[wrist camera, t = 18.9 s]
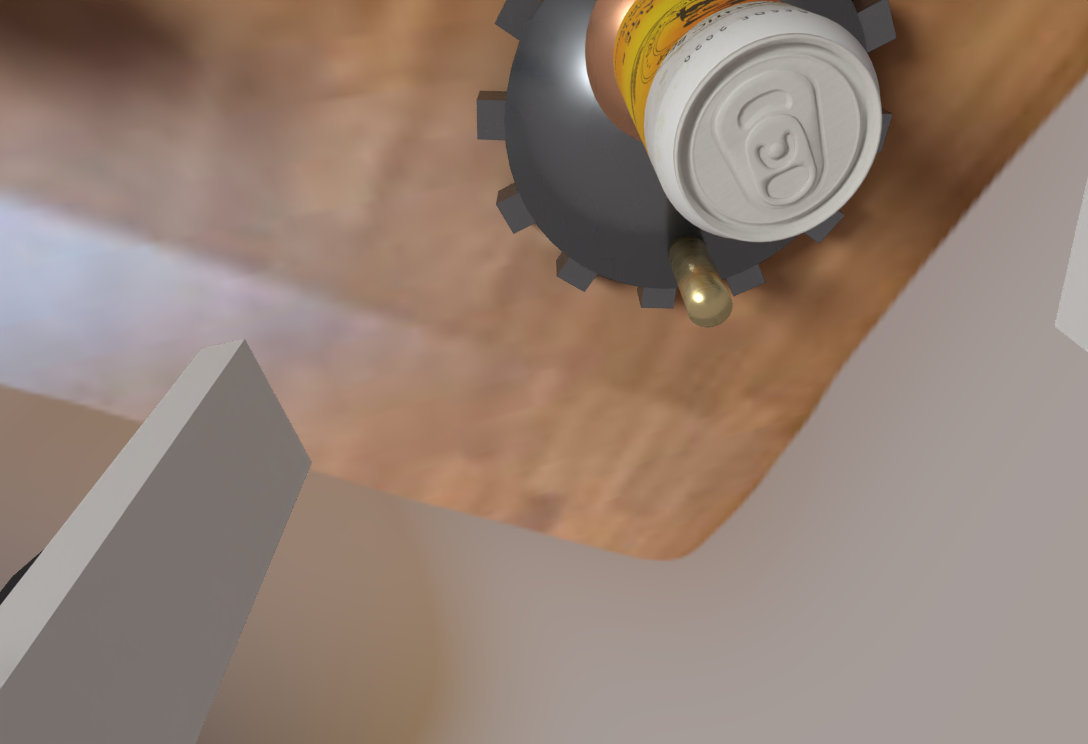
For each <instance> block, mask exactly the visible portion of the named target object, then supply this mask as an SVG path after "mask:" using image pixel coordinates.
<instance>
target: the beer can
mask: <svg viewBox="0 0 1088 744" xmlns="http://www.w3.org/2000/svg"><path fill="white" fill-rule="evenodd" d="M613 65H614V73H615V78H616V82H617V85H618V87H619V90H620V92H621V94H622V97H623V99H624V101H625V103H626V106H627V108H628V110H629V113H630V115H631V117H632V119H633V122H634V124H635V126H636V129H637V131H638V133H639V135H640V138H641V140H642V142H643V144H644V147H645V149H646V151H647V154H648V156H649V158H650V160H651V163H652V165H653V167H654V170H655V172H656V174H657V176H658V179H659V181H660V183H661V186H662V188H663V190H664V192H665V194H666V195H667V197H668V199H669V201H670V202H671V203H672V205H673V206H674V207H675V208H676V210H677V211H678V212H679V213H680V214H681V215H682V216H683V217H684V218H686V219H687V220H688V221H690V222H691V223H692V224H693V225H695V226H697V227H699V228H700V229H702V230H704V231H706V232H709V233H711V234H714V235H717V236H721V237H724V238H730V239H737V240H741V241H748V242H771V241H777V240H783V239H786V238H790V237H793V236H796V235H799V234H801V233H804V232H806V231H808V230H810V229H812V228H814V227H816V226H817V225H819V224H821V223H822V222H824V221H825V220H827V219H828V218H829V217H831V216H832V215H833V214H835V213H836V212H837V211H838V210H839V209H840V208H841V207H843V206H844V205H845V204H846V203H847V201H848V200H849V199H850V198H851V197H852V196H853V195H854V193H855V192H856V191H857V190H858V188H859V187H860V186H861V184H862V182H863V181H864V179H865V178H866V176H867V174H868V172H869V170H870V168H871V166H872V164H873V162H874V159H875V156H876V153H877V150H878V147H879V143H880V138H881V131H882V107H881V99H880V89H879V84H878V79H877V75H876V72H875V69H874V67H873V64H872V62H871V60H870V58H869V56H868V54H867V52H866V51H865V49H864V48H863V47H862V45H861V44H860V43H859V41H858V40H857V39H856V38H855V37H854V36H853V35H852V34H851V33H850V32H849V31H847V30H846V29H845V28H843V27H842V26H841V25H839V24H838V23H836V22H834V21H832V20H830V19H828V18H826V17H823V16H820V15H817V14H815V13H812V12H809V11H806V10H803V9H801V8H798V7H795V6H792V5H790V4H787V3H784V2H781V1H778V0H636V1H635V2H634V3H633V4H632V6H631V7H630V8H629V10H628V11H627V13H626V15H625V16H624V18H623V20H622V22H621V24H620V27H619V30H618V32H617V36H616V40H615V45H614V52H613Z"/></svg>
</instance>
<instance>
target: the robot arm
mask: <svg viewBox="0 0 1088 744" xmlns="http://www.w3.org/2000/svg"><path fill="white" fill-rule="evenodd" d="M1055 327H1056V328H1057V329H1059V330H1060V331H1061V332H1062V333H1064V334H1065V335H1066V336H1068V337H1069V338H1070V339H1072V340H1073V341H1074V342H1075V343H1077V344H1078V345H1079V346H1081V347H1082V348H1083V349H1084V350H1086V351H1087V352H1088V178H1087V183H1086V188H1085V192H1084V196H1083V201H1082V206H1081V210H1080V214H1079V218H1078V223H1077V227H1076V232H1075V236H1074V241H1073V245H1072V250H1071V255H1070V259H1069V263H1068V267H1067V272H1066V277H1065V281H1064V286H1063V290H1062V295H1061V299H1060V303H1059V308H1058V312H1057V317H1056V321H1055ZM311 463H312V462H311V460H310V458H309V456H308V454H307V453H306V451H305V449H304V447H303V445H302V443H301V442H300V440H299V438H298V436H297V434H296V432H295V431H294V429H293V427H292V425H291V423H290V421H289V420H288V418H287V416H286V414H285V412H284V410H283V408H282V407H281V405H280V403H279V401H278V399H277V397H276V396H275V394H274V392H273V390H272V388H271V386H270V385H269V383H268V381H267V379H266V377H265V375H264V374H263V372H262V370H261V368H260V366H259V364H258V362H257V361H256V359H255V357H254V355H253V353H252V351H251V350H250V348H249V346H248V344H247V342H246V340H245V339H243V340H238V341H233V342H228V343H223V344H218V345H214V346H209V347H204V348H202V349H201V350H200V351H199V353H198V354H197V355H196V356H195V358H194V359H193V360H192V361H191V363H190V364H189V365H188V367H187V368H186V369H185V370H184V372H183V373H182V374H181V375H180V377H179V378H178V379H177V381H176V382H175V383H174V384H173V386H172V387H171V388H170V390H169V391H168V392H167V393H166V395H165V396H164V397H163V398H162V400H161V401H160V402H159V404H158V405H157V406H156V407H155V409H154V410H153V411H152V412H151V414H150V415H149V416H148V418H147V419H146V420H145V421H144V423H143V424H142V425H141V427H140V428H139V429H138V430H137V432H136V433H135V434H134V436H133V437H132V438H131V439H130V441H129V442H128V443H127V444H126V446H125V447H124V448H123V450H122V451H121V452H120V453H119V455H118V456H117V457H116V459H115V460H114V461H113V462H112V464H111V465H110V466H109V468H108V469H107V470H106V471H105V472H104V474H103V475H102V476H101V478H100V479H99V480H98V481H97V483H96V484H95V485H94V486H93V488H92V489H91V490H90V492H89V493H88V494H87V495H86V497H85V498H84V499H83V500H82V502H81V503H80V505H79V506H78V507H77V508H76V509H75V511H74V512H73V513H72V515H71V516H70V517H69V518H68V520H67V521H66V522H65V524H64V525H63V526H62V527H61V529H60V530H59V531H58V532H57V534H56V535H55V536H54V538H53V539H52V540H51V541H50V543H49V544H48V545H47V547H46V548H45V549H44V550H43V551H41V552H40V553H39V554H38V555H37V556H36V557H34V558H33V559H32V560H31V561H30V562H29V563H28V564H27V565H25V566H24V567H23V568H22V569H21V570H19V571H18V572H17V573H16V574H15V575H14V576H13V577H12V578H11V579H10V580H9V582H8V583H7V584H6V585H5V587H4V588H3V589H2V590H1V592H0V744H196V741H197V739H198V736H199V734H200V732H201V729H202V727H203V724H204V722H205V719H206V717H207V715H208V712H209V710H210V707H211V705H212V703H213V700H214V697H215V695H216V693H217V690H218V688H219V685H220V683H221V681H222V678H223V676H224V674H225V671H226V669H227V666H228V664H229V661H230V659H231V657H232V654H233V652H234V649H235V647H236V645H237V642H238V639H239V637H240V635H241V633H242V630H243V627H244V625H245V623H246V620H247V618H248V615H249V613H250V611H251V608H252V606H253V604H254V601H255V599H256V596H257V594H258V591H259V589H260V586H261V584H262V582H263V579H264V577H265V575H266V572H267V570H268V567H269V565H270V562H271V560H272V557H273V555H274V553H275V550H276V548H277V545H278V543H279V541H280V538H281V536H282V533H283V531H284V528H285V526H286V524H287V521H288V519H289V517H290V514H291V512H292V509H293V507H294V504H295V502H296V500H297V497H298V495H299V492H300V490H301V488H302V485H303V483H304V480H305V478H306V475H307V473H308V471H309V468H310V466H311Z"/></svg>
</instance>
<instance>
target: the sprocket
mask: <svg viewBox="0 0 1088 744" xmlns="http://www.w3.org/2000/svg"><path fill="white" fill-rule="evenodd" d="M635 1H636V0H506V2H505V4H504V6H503V8H502V10H501V12H500V14H499V16H498V18H497V20H496V22H495V24H496V25H498V26H499V27H500V28H502V29H503V30H505V31H506V32H508V33H509V34H511V35H512V36H514V37H515V38H517V39H518V40H520V42H519V45H518V48H517V51H516V54H515V57H514V60H513V64H512V68H511V73H510V78H509V83H508V89H507V92H503V91H480V92H479V95H478V98H477V135H478V139H486V140H506V149H507V154H508V159H509V164H510V169H511V172H512V175H513V178H514V181H515V183H513V184H511V185H509V186H507V187H505V188H503V189H502V190H500V191H498V196H497V202H496V205H497V207H498V208H499V210H500V212H501V214H502V215H503V217H504V219H505V220H506V222H507V224H508V225H509V227H510V229H511V230H512V232H513V234H514V233H516V232H518V231H520V230H522V229H524V228H526V227H528V226H530V225H532V224H534V223H536V224H537V225H538V227H539V228H540V229H541V230H542V232H543V233H544V234H545V235H546V236H547V237H548V238H549V240H550V241H551V242H552V243H553V244H554V245H555V246H557V247H558V248H559V249H560V250H561V251H562V253H561V254H560V256H559V257H558V259H557V260H556V268H557V277H559V278H561V279H563V280H564V281H566V282H568V283H570V284H571V285H573V286H575V287H577V288H578V289H580V290H582V291H584V292H585V290H586V289H587V288H588V286H589V285H590V284H591V282H592V281H593V280H594V278H595V277H596V275H597V274H599V275H601V276H603V277H606V278H609V279H612V280H614V281H617V282H620V283H624V284H629V285H634V286H638V288H637V293H638V297H639V301H640V305H641V308H673V307H674V301H675V294H676V288H679V290H680V293H681V295H682V298H683V301H684V304H685V307H686V309H687V312H688V315H689V318H690V319H691V321H692V322H693V323H695V324H696V325H698V326H701V327H714V326H717V325H719V324H721V323H722V322H724V321H725V320H726V319H727V318H728V317H729V315H730V313H731V311H732V300H731V298H730V296H729V294H728V292H727V290H726V287H725V285H724V283H723V281H722V280H723V279H725V280H726V282H727V284H728V286H729V288H730V290H731V292H732V294H733V296H736V295H738V294H740V293H742V292H745V291H747V290H749V289H752V288H754V287H756V286H758V285H761V284H763V283H765V280H764V278H763V275H762V273H761V270H760V268H759V265H758V264H759V263H761V262H763V261H764V260H766V259H767V258H769V257H770V256H772V255H773V254H775V253H776V252H778V251H779V250H781V249H782V248H783V247H785V246H786V245H787V244H788V243H789V242H791V241H792V240H793V239H794V238H796V237H797V236H798V235H796V236H793V237H790V238H786V239H783V240H777V241H771V242H748V241H741V240H737V239H730V238H724V237H721V236H717V235H714V234H711V233H709V232H706V231H704V230H702V229H700V228H699V227H697V226H695V225H693V224H692V223H691V222H690V221H688V220H687V219H686V218H684V217H683V216H682V215H681V214H680V213H679V212H678V211H677V210H676V208H675V207H674V206H673V205H672V203H671V202H670V201H669V199H668V197H667V195H666V194H665V192H664V190H663V188H662V186H661V183H660V181H659V179H658V176H657V174H656V172H655V170H654V167H653V165H652V163H651V160H650V158H649V156H648V154H647V151H646V149H645V147H644V144H643V142H642V140H641V138H640V135H639V133H638V131H637V129H636V126H635V124H634V122H633V119H632V117H631V115H630V113H629V110H628V108H627V106H626V103H625V101H624V99H623V97H622V94H621V92H620V90H619V87H618V85H617V82H616V78H615V73H614V65H613V52H614V45H615V40H616V36H617V32H618V30H619V27H620V24H621V22H622V20H623V18H624V16H625V15H626V13H627V11H628V10H629V8H630V7H631V6H632V4H633V3H634V2H635ZM778 1H781V2H784V3H787V4H790V5H792V6H795V7H798V8H801V9H803V10H806V11H809V12H812V13H815V14H817V15H820V16H823V17H826V18H828V19H830V20H832V21H834V22H836V23H838V24H839V25H841V26H842V27H843V28H845V29H846V30H847V31H849V32H850V33H851V34H852V35H853V36H854V37H855V38H856V39H857V40H858V41H859V43H860V44H861V45H862V47H863V48H864V49H865V51H866V52H867V53H868V52H870V51H872V50H874V49H876V48H878V47H880V46H882V45H884V44H886V43H888V42H890V41H892V40H894V39H896V34H895V29H894V25H893V20H892V16H891V11H890V7H889V2H888V0H855V1H853V2H852V1H851V0H778ZM892 115H893V114H892V113H890V112H888V111H886V110H885V109H883V108H882V131H881V138H880V143H879V147H878V150H877V152H878V153H881V151H882V147H883V144H884V141H885V138H886V134H887V131H888V128H889V124H890V121H891V118H892ZM844 216H845V215H844V214H843V213H842V212H841V211H840V210H838V211H837V212H836V213H835V214H833V215H832V216H831V217H829V218H828V219H827V220H825V221H824V222H822V223H821V224H819V225H817V226H816V227H814V228H812V229H810V230H808V231H806V232H804V233H805V234H806V235H808V236H809V237H811V238H812V239H814V240H815V241H817V242H818V243H820V242H821V241H822V240H823V239H824V238H825V237H826V236H827V234H828V233H829V232H830V231H831V230H832V229H833V228H834V227H835V226H836V224H837V223H838V222H839V221H840V220H841V219H842V218H843V217H844Z"/></svg>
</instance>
